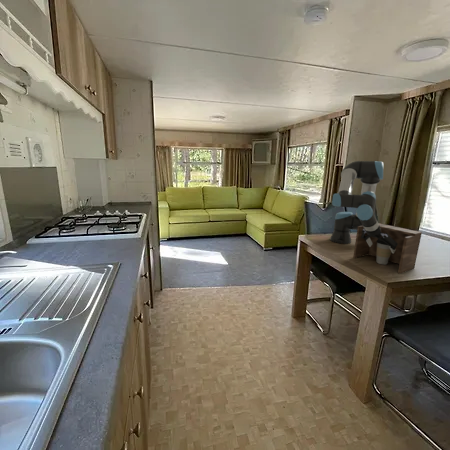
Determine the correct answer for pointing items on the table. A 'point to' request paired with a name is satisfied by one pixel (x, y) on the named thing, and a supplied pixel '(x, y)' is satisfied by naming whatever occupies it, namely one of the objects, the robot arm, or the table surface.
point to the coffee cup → (382, 252)
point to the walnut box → (404, 249)
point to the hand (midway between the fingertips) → (382, 248)
